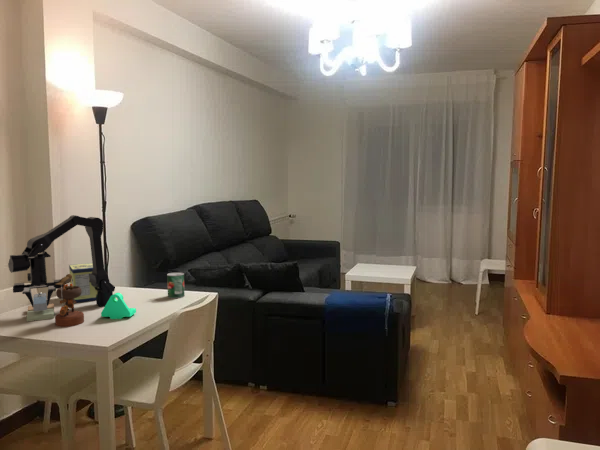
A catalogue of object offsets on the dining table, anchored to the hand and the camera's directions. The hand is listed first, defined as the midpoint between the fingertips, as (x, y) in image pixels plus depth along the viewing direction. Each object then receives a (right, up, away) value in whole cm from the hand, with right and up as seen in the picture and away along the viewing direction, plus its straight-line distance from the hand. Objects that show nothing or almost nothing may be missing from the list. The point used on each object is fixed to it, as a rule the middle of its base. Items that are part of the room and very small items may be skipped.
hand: (40, 306), depth 216 cm
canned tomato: (+48, -1, +35) cm, 59 cm away
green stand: (0, -5, 0) cm, 5 cm away
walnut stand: (-4, -4, +9) cm, 11 cm away
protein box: (+5, -2, +32) cm, 33 cm away
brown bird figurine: (+16, -6, -7) cm, 18 cm away
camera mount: (+32, -5, +1) cm, 32 cm away
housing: (0, -1, 0) cm, 1 cm away
